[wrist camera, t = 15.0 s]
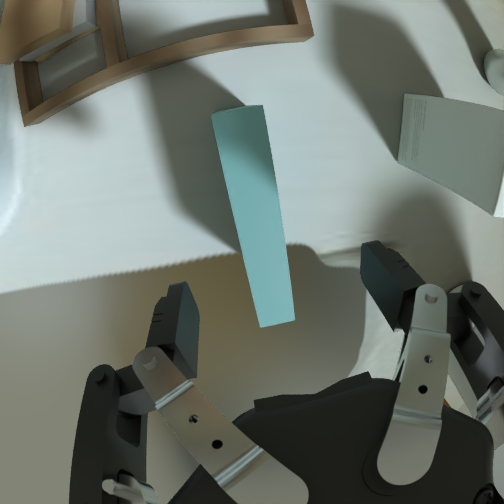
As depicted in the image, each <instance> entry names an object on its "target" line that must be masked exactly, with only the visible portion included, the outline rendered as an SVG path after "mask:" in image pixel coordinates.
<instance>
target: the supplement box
mask: <svg viewBox="0 0 504 504" xmlns="http://www.w3.org/2000/svg"><path fill="white" fill-rule="evenodd" d="M398 163H399V164H401V165H403V166H405V167H407V168H409V169H411V170H413V171H415V172H417V173H419V174H421V175H423V176H425V177H427V178H429V179H431V180H433V181H435V182H437V183H439V184H441V185H442V186H444V187H446V188H448V189H450V190H452V191H453V192H455V193H457V194H459V195H460V196H462V197H464V198H465V199H467V200H469V201H470V202H472V203H473V204H475V205H477V206H478V207H480V208H481V209H483V210H484V211H486V212H488V213H489V214H490V215H492V216H494V217H503V218H504V110H500V109H496V108H492V107H488V106H484V105H480V104H475V103H471V102H465V101H460V100H454V99H448V98H442V97H434V96H426V95H417V94H407V93H405V94H404V102H403V115H402V126H401V135H400V143H399V151H398Z"/></svg>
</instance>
